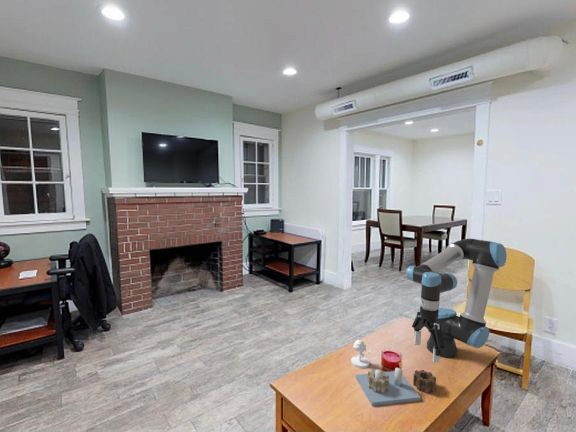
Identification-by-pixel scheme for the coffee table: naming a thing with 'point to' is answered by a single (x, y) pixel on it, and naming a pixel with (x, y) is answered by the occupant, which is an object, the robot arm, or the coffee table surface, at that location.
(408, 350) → the coffee table surface
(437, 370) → the coffee table surface
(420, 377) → the walnut gear
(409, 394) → the gear board
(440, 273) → the robot arm
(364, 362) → the figurine
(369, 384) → the gear
